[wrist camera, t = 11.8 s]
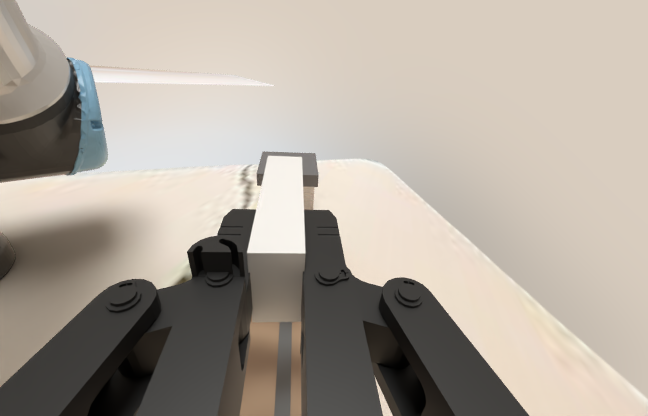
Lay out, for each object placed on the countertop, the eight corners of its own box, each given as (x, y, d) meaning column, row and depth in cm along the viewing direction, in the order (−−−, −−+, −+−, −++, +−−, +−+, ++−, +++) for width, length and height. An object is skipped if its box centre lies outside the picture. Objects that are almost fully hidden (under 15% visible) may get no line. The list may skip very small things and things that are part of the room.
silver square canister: (311, 280, 34) (318, 175, 28) (262, 280, 34) (256, 173, 27) (310, 249, 39) (315, 153, 33) (266, 249, 39) (262, 151, 32)
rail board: (354, 492, 20) (357, 483, 19) (201, 504, 19) (197, 495, 18) (323, 240, 44) (324, 231, 43) (254, 239, 43) (253, 230, 42)
